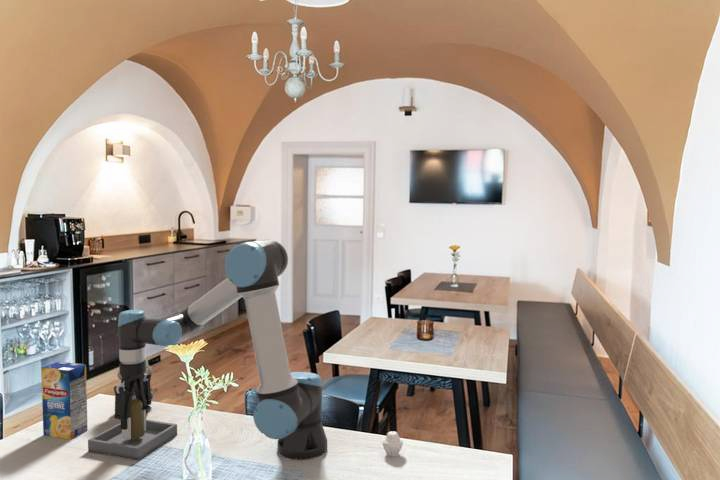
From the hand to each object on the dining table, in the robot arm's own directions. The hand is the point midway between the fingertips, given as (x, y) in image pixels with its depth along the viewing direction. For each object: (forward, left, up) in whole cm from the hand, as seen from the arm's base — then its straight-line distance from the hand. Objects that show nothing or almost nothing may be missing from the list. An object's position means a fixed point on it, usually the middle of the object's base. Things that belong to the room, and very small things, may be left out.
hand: (134, 434), depth 164 cm
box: (0, 0, -3) cm, 3 cm away
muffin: (-78, -18, -3) cm, 80 cm away
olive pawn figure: (0, 0, -1) cm, 1 cm away
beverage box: (+26, +1, -3) cm, 26 cm away
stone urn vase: (+17, -21, -3) cm, 27 cm away
